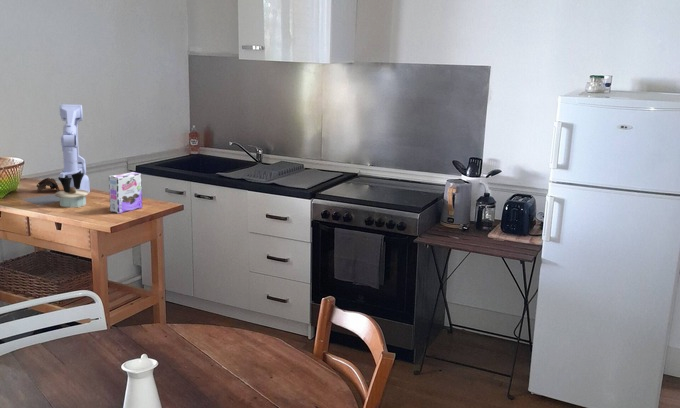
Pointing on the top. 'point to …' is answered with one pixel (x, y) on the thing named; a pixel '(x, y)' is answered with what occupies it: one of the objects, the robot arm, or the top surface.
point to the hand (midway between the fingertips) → (72, 190)
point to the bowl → (73, 202)
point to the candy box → (125, 192)
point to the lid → (71, 193)
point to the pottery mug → (47, 182)
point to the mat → (43, 199)
